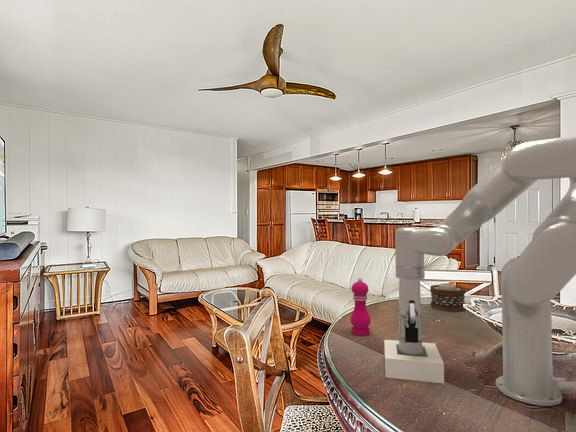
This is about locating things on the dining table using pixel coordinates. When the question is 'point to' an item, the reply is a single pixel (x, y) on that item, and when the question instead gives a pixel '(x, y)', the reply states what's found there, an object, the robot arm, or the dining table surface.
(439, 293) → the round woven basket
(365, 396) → the dining table surface
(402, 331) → the energy drink can
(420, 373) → the socket block
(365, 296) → the pepper mill
